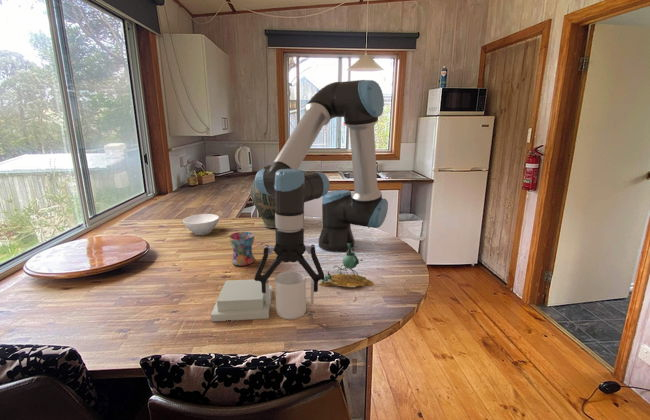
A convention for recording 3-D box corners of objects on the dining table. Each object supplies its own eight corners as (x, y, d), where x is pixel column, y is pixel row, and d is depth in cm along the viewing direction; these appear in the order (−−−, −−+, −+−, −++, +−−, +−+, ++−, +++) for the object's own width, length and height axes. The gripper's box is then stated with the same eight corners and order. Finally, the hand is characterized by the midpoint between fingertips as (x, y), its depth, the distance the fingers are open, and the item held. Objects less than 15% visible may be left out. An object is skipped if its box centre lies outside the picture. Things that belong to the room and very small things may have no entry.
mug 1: (246, 269, 121) (244, 241, 119) (225, 265, 125) (222, 237, 122) (265, 257, 132) (263, 231, 129) (245, 253, 136) (243, 228, 133)
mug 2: (284, 296, 103) (283, 264, 100) (311, 298, 101) (311, 266, 99) (272, 318, 91) (270, 283, 89) (302, 321, 90) (301, 286, 87)
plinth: (272, 291, 106) (271, 276, 104) (268, 318, 91) (267, 301, 90) (223, 293, 105) (221, 278, 103) (211, 321, 90) (209, 304, 89)
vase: (261, 219, 182) (258, 163, 174) (302, 220, 179) (300, 163, 171) (246, 232, 160) (241, 169, 153) (292, 234, 157) (290, 169, 150)
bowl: (227, 230, 163) (226, 216, 162) (199, 240, 150) (197, 225, 149) (205, 225, 172) (204, 212, 170) (177, 234, 159) (175, 220, 157)
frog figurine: (320, 275, 117) (325, 234, 113) (373, 283, 115) (379, 241, 111) (317, 288, 107) (321, 244, 104) (374, 296, 106) (381, 252, 102)
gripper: (333, 223, 95) (331, 294, 100) (245, 224, 93) (248, 296, 98) (336, 232, 87) (333, 308, 93) (241, 232, 85) (244, 310, 91)
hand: (290, 302), depth 95 cm, fingers open, 12 cm apart
